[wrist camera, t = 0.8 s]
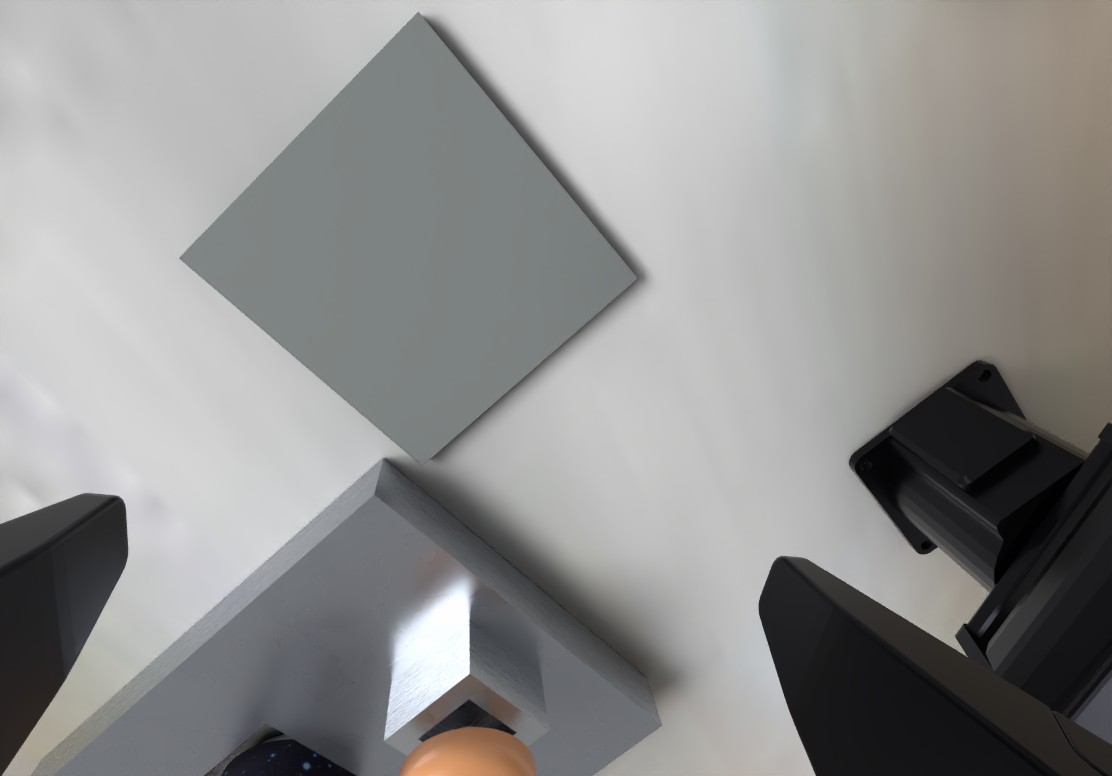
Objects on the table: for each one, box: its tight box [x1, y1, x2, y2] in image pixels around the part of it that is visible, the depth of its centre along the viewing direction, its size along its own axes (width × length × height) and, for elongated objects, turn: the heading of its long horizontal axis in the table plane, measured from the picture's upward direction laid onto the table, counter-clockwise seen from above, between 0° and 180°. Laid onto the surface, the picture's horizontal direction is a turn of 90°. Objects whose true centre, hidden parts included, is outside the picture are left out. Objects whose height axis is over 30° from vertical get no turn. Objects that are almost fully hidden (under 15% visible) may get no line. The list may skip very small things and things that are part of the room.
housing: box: [31, 458, 662, 776], centre depth 25 cm, size 16×20×5 cm
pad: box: [179, 12, 638, 466], centre depth 20 cm, size 10×10×1 cm
